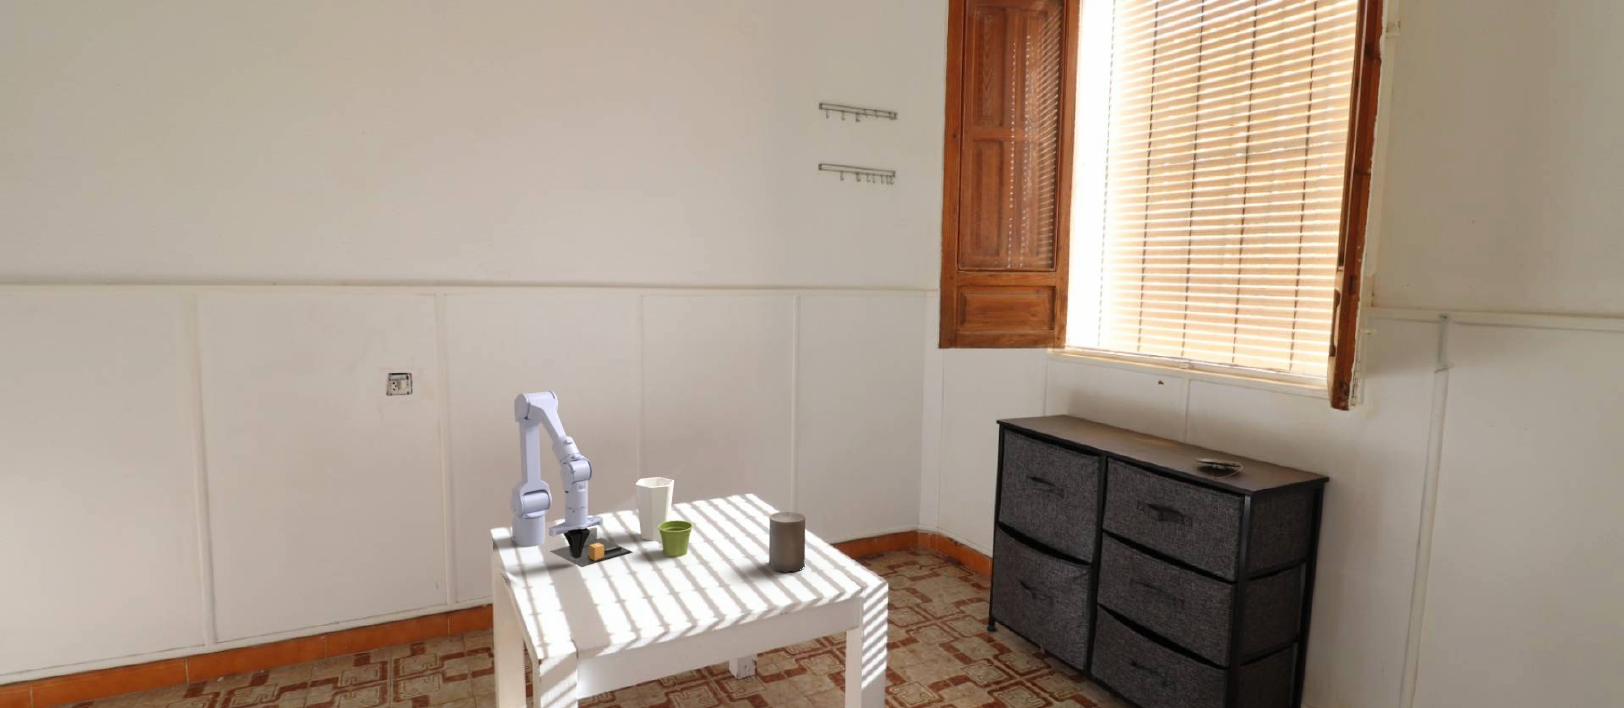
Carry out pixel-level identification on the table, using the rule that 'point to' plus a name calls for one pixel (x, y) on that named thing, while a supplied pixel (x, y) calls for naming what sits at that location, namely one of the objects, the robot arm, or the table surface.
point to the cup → (653, 505)
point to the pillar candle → (787, 541)
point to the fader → (596, 551)
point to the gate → (592, 536)
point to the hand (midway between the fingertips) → (576, 556)
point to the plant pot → (675, 537)
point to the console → (609, 553)
